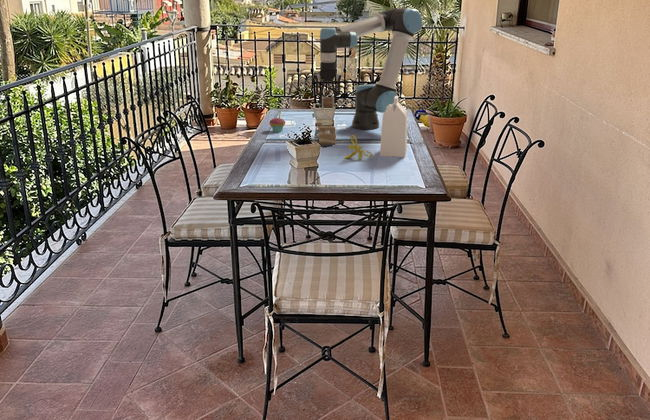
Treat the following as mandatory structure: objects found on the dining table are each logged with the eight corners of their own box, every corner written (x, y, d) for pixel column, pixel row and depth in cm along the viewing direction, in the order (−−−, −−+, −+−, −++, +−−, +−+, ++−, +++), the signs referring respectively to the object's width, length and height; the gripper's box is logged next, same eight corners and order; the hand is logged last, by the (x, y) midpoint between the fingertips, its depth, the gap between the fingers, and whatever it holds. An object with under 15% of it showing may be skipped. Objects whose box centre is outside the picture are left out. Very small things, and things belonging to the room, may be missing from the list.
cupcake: (286, 129, 313) (286, 107, 308) (284, 133, 305) (283, 110, 301) (271, 129, 313) (270, 107, 309) (268, 132, 306) (267, 110, 301)
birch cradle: (319, 136, 299) (319, 126, 297) (335, 136, 299) (335, 126, 297) (319, 144, 283) (319, 134, 281) (335, 144, 283) (335, 134, 281)
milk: (404, 157, 262) (408, 99, 253) (379, 155, 264) (382, 98, 255) (406, 150, 273) (409, 95, 264) (382, 149, 275) (384, 94, 266)
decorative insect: (358, 169, 262) (373, 154, 257) (356, 171, 259) (371, 156, 254) (338, 148, 262) (353, 133, 257) (336, 150, 259) (351, 135, 254)
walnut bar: (323, 105, 291) (323, 97, 290) (332, 105, 291) (332, 97, 290) (323, 107, 280) (323, 99, 279) (332, 107, 280) (332, 99, 279)
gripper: (309, 62, 276) (310, 110, 284) (346, 62, 276) (345, 110, 284) (310, 60, 283) (310, 107, 291) (345, 60, 283) (345, 107, 291)
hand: (328, 109), depth 288 cm, fingers closed on walnut bar, 4 cm apart
